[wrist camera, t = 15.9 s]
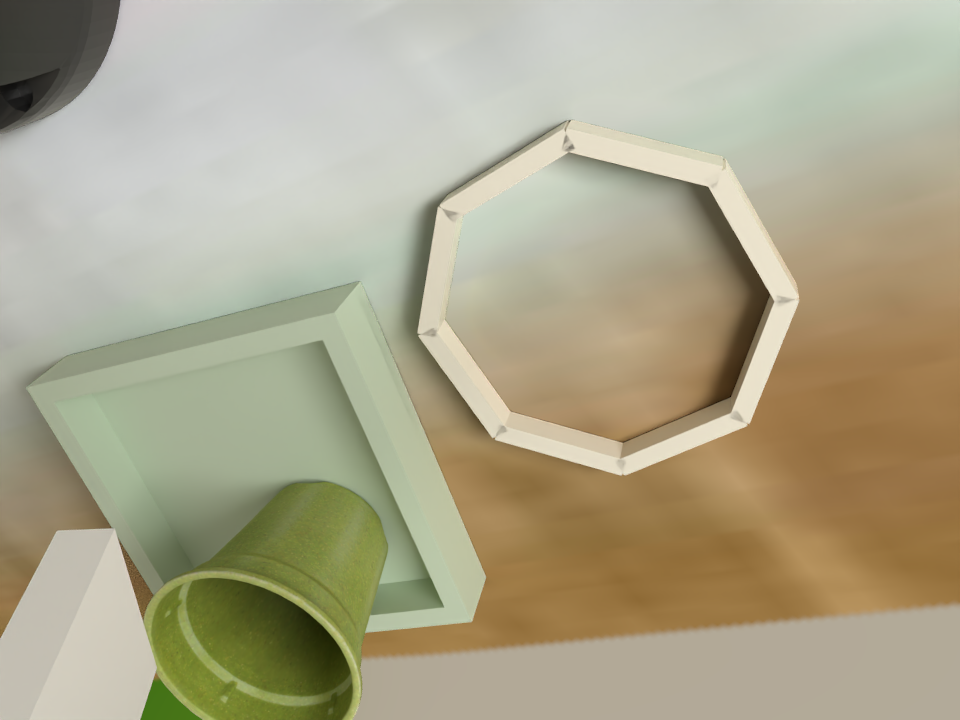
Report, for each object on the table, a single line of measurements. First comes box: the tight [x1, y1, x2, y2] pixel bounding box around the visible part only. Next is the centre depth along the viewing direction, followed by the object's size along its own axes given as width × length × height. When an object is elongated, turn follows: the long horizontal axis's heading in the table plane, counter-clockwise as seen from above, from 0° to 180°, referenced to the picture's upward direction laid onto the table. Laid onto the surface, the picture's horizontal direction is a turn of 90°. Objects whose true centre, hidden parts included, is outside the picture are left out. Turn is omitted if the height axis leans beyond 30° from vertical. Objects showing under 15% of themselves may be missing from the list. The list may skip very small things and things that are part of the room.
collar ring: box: [417, 120, 799, 476], centre depth 36 cm, size 14×14×1 cm
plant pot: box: [143, 482, 388, 720], centre depth 40 cm, size 9×9×9 cm
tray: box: [26, 281, 486, 633], centre depth 43 cm, size 16×16×3 cm
